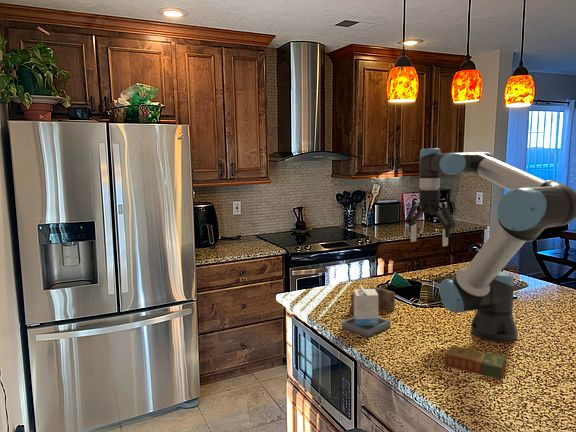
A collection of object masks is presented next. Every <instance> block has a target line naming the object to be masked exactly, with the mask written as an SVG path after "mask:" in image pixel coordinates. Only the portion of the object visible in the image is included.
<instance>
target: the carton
mask: <svg viewBox="0 0 576 432" xmlns="http://www.w3.org/2000/svg"><path fill="white" fill-rule="evenodd" d="M444 366H445V367H446V368H450V369H453V370H454V369H455V370H458V371H464V372H466V373H471V374H475V375H479V376H483V377H487V378H490V379H491V378H492V379H495V380H500V381H501V380H502V381H503V378H504V375H505V371H506V368H507V367H506V366H507V358H506V357H505V356H501V355H496V354H492V353H487V352H484V351H478V350H473V349H469V348H465V347H460V346H457V345H456V346H455V345H451V346H450V347H449V348H448V350H447V352H446V353H445V356H444Z"/></svg>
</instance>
